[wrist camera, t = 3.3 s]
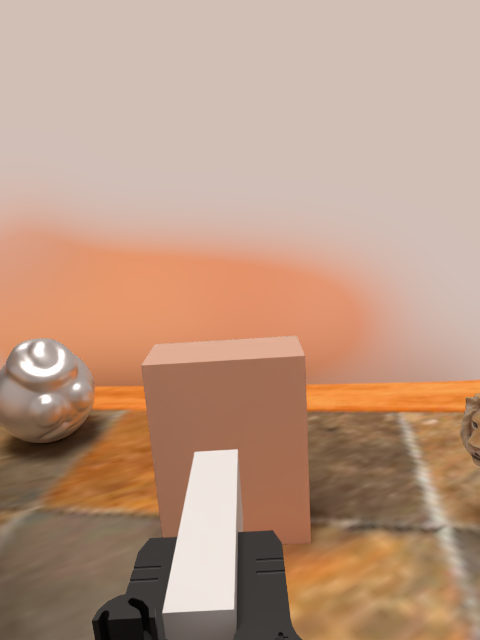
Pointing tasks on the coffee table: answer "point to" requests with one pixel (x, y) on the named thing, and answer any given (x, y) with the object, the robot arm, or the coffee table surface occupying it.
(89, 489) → the coffee table surface
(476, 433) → the lion figurine
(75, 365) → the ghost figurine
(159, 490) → the peach rectangular block
